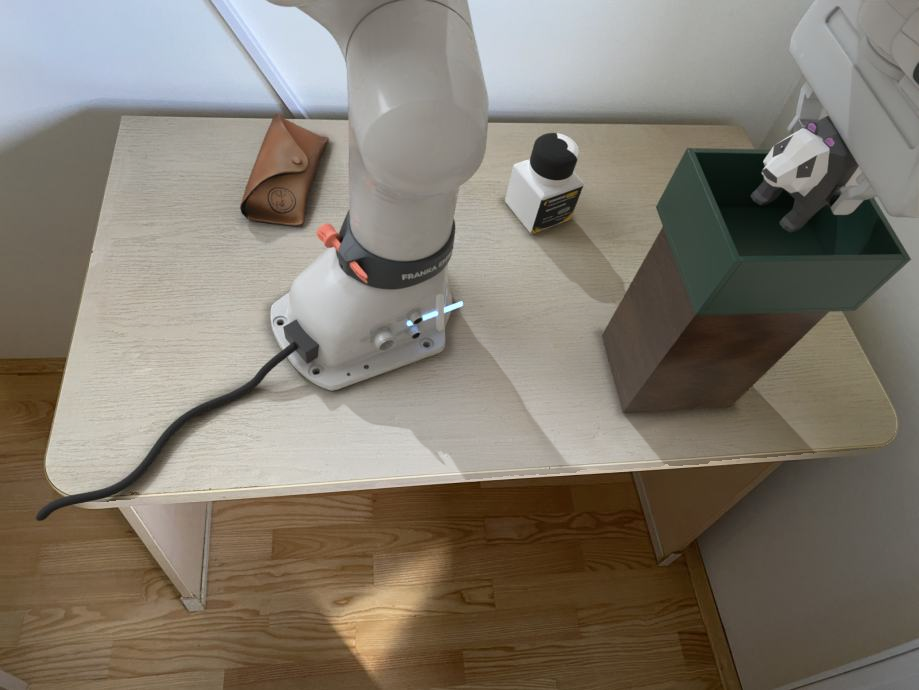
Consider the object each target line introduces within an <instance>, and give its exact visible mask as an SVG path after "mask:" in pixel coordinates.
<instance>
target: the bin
mask: <svg viewBox="0 0 919 690" xmlns="http://www.w3.org/2000/svg"><path fill="white" fill-rule="evenodd" d="M770 151H771V149H768V148H767V149H765V148H764V149H762V148H760V149H759V148H758V149H757V148H712V147H711V148H709V147H708V148H707V147H706V148H704V147H687V148H686V149H685V151H684V153H683V154H682V157H681V159H680V160H679V162H678V164H677V165H676V167H675V169H674V171H673V173H672V175H671V178H670V179H669V181H668V183H667V185H666V186H665V189H664V191H663V193H662V194H661V196H660V198H659V200H658V201H657V204H656V206H655V209H656V211H657V214H658V217H659V219H660V223H661V225H662V227H663V228H664V231H665V233H666V236H667V239H668V242H669V244H670V247H671V250H672V253H673V255H674V258H675V261H676V263H677V266H678V269H679V272H680V274H681V277H682V280H683V283H684V285H685V288H686V291H687V293H688V296H689V299H690V302H691V304H692V307H693V310H694V313H695V315H725V314H762V313H798V312H828V313H832V312H833V313H834V312H855V311H857V310H858V309H859V308H860V307H861V306H862V305H863V304H864V303H866V302H867V301H868V300H869V299H870V298H871V297H872V296H873V295H874V294H875V293H876V292H877V291H879V290H880V289H881V288H882V287H883V286H884V285H885V284H886V283H888V281H890V279H892V278H893V277H894V276H896V274H897V273H898V272H900V271H901V269H903V268H904V267H905V266H906V265H907V264H909V262H910V261H911V260H912V258H911V256H910V255H909V253H908V251H907V250H906V248H905V246H904V245H903V243H902V242H901V240H900V238H899V237H898V235H897V233H896V232H895V230H894V229H893V226H892V225H891V224H890V221H889V220H888V218H887V217H886V215H885V213H884V212H883V210H882V209H881V207H880V205H879V203H878V202H877V200H876V198H875V197H874V198H871V199H868V200H863V202H862V203H861V204H860V205H859V206H858V207H857V208H856V209H855V210H854V211H853V212H852V213H850V214H848V215H834V214H833V212H832V210H831V209H830V207H828V206H826V205H825V206H824V207H823V208H821V209H820V210H819V211H818V212H817V213H815V214H814V215H813V216H812V217H811V218H810V219H809V220H808V221H807V223H806V224H805V225H804V226H803V227H802V228H800V229H798V230H796V231H794V232H788V231H787V230H785V229H783V228H782V226H781V225H780V223H779V222H780V221H781V220H782V219H783V217H784V216H785V215H786V214H788V213H789V212H790V211H791V210H792V209H793V205H794V200H795V199H794V198H793V197H792V196H791V195H790V194H789V193H788V192H787V191H786V190H783V191H782V192H781V194H780V195H779V196H778V197H777V198H776V199H775V200H774V201H773V202H771V203H768V204H765V205H759V204H758V203H756V202H754V201H753V199H752V198H751V194H752V193H753V192H754V191H755V190H756V189H757V188H758V187H759V186H760V184H761V183H762V182H763V180H764V175H762V170H763V169H764V168H765V165H764V163H763V161H764V159H765V158H766V156H767V155H768V154H769V152H770Z"/></svg>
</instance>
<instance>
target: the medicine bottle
mask: <svg viewBox="0 0 919 690" xmlns="http://www.w3.org/2000/svg"><path fill="white" fill-rule="evenodd" d="M580 155H581V152H580V148H579V146H578V144H577V143H576V142H575V140H573V139H572V138H571V137H570V136H567V135H565V134H563V133H559V132H547V133H544V134H542V135H540V136H538V137H537V138H536V139H535V141H534V143H533V145H532V150H531V153H530V158H529V159H526V160H522V161H520V162H516V163H514V164H513V167H512V170H511V174H510V178H509V182H508V186H507V189H506V193H505V198H504V202H505V204H506V205H507V206H508V207H509V209H510V210H511V211H512V212H513V214H514V215H515V216H516V218H517V219H518V220H519V221H520V222H521V224H522V225H523V226H524V228H525V229H526V230H527V231H528V233H529V234H531V235H534V234H536V233H539V232H541V231H544V230H547V229H549V228H552V227H554V226H555V227H556V226H557V225H560V224H562V223H565V222H568V221H570V220H571V219H572V217H573V215H574V212H575V209H576V206H577V205H578V201H579V199H580V196H581V194H582V192H583V188H584V186H585V183H584V181H582V179H581V178H580V177H579V176H578V174H576V172H575V169H576V167H577V164H578V161H579V158H580Z"/></svg>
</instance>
